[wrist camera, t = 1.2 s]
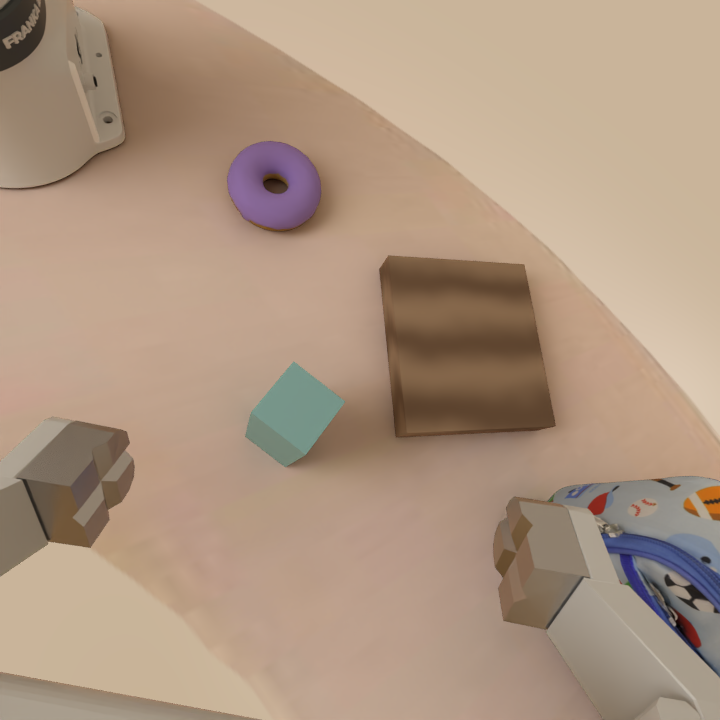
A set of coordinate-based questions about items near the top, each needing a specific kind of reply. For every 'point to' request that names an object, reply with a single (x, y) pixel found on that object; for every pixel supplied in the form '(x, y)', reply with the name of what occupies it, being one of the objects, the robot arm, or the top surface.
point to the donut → (263, 204)
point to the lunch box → (664, 549)
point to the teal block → (292, 415)
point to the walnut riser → (462, 348)
